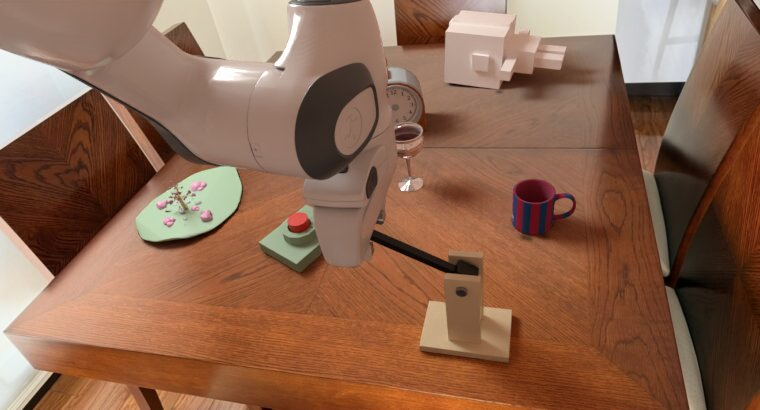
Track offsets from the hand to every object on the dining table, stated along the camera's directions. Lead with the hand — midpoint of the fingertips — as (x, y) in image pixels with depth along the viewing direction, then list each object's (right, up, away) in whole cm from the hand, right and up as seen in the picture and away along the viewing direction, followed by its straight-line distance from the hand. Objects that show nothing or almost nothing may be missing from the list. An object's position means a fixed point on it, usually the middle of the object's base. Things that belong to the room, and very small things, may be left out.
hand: (372, 238), depth 63 cm
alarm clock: (+4, +22, +54) cm, 59 cm away
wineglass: (+7, +8, +36) cm, 38 cm away
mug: (+29, +1, +23) cm, 37 cm away
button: (-13, 0, +25) cm, 28 cm away
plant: (-38, +4, +41) cm, 56 cm away
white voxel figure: (+32, +37, +66) cm, 82 cm away
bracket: (+13, -14, +8) cm, 21 cm away
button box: (-13, -2, +27) cm, 30 cm away
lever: (+5, -3, +1) cm, 6 cm away
